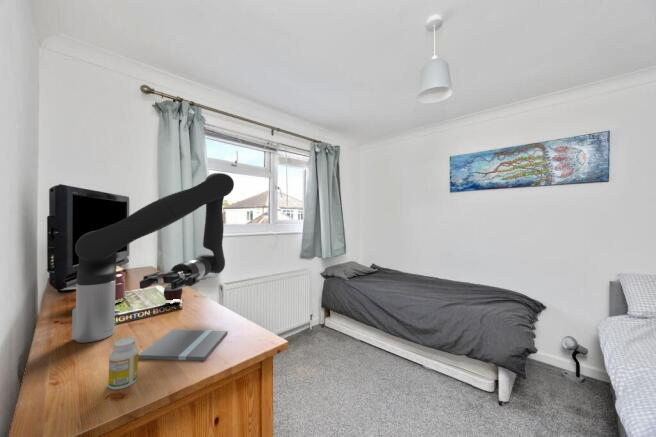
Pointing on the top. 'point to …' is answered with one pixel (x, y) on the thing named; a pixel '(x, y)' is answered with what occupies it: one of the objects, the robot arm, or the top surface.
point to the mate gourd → (172, 293)
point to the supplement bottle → (123, 364)
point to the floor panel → (184, 345)
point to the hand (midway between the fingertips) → (156, 285)
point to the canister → (119, 283)
